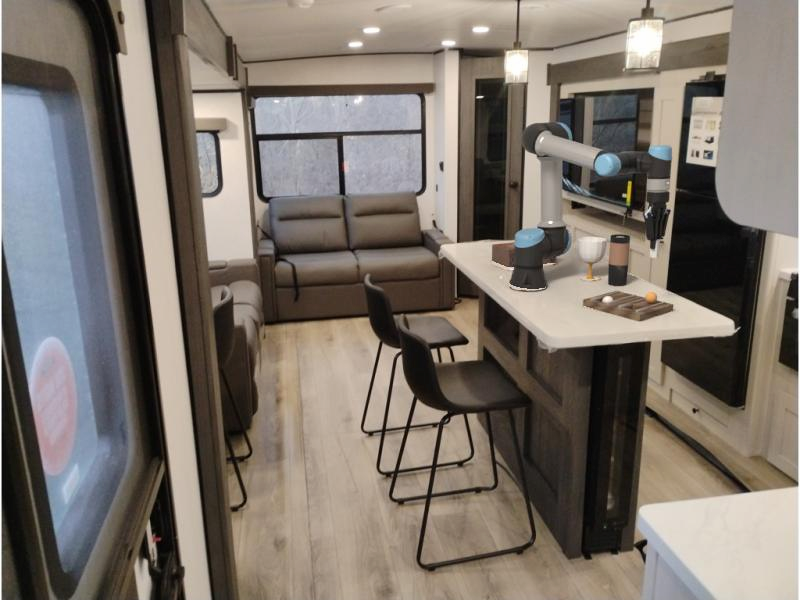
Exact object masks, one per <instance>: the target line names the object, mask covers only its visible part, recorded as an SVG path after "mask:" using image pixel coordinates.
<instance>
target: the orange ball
mask: <svg viewBox="0 0 800 600" xmlns="http://www.w3.org/2000/svg"><path fill="white" fill-rule="evenodd" d="M645 299H646V301H647V302H648V303H654V302H656V300H657V301H658V295H657V293H656V292H654V291H649V292H647V293H646V294H645Z"/></svg>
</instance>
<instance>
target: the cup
mask: <svg viewBox="0 0 800 600" xmlns="http://www.w3.org/2000/svg"><path fill="white" fill-rule="evenodd" d="M607 243H608V240H607V238H605V237H600V236H582V237H579V238H577V252H578V253H577V254H578V256H579V258H580V259H581V261H582V262H584V263H585V264H586V263H587V264H588V267H589V271H588V275H587V276H588V277H586V278H587V279H595V278H594V277H592V276H593V275H592V273H593V271H592V269H593V264H597V263H599V262H601V260H603V258H604V257H605V253H606V249H607ZM598 277H599V278H600V279H601V280H602V278H601V277H600V276H598ZM600 279H598V280H599V281H601V280H600Z"/></svg>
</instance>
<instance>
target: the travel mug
mask: <svg viewBox="0 0 800 600" xmlns="http://www.w3.org/2000/svg"><path fill="white" fill-rule="evenodd" d="M609 241H610V242H609V253H608V254H609V255H608V272H607V273H608V274H607V277H608V278H607V283H608V285H609V286H612V285H613V287H624V285H625V286H626V285H627V281H628V273H629V272H628V271H629V260H630V246H631V243H630V242H631V236H630V235H628V234H620V233H619V234H617V233H616V234H611V235H610V238H609Z"/></svg>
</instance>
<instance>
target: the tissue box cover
mask: <svg viewBox="0 0 800 600" xmlns="http://www.w3.org/2000/svg"><path fill="white" fill-rule="evenodd" d="M492 261H494V262H496V263H499V264H501V265H504V266H506V267H514V241H513V242H503V243H496V244H494V243H493V244H491V262H492ZM547 263H556V264H557V257H551V258H547V259H543V264H547Z"/></svg>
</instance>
